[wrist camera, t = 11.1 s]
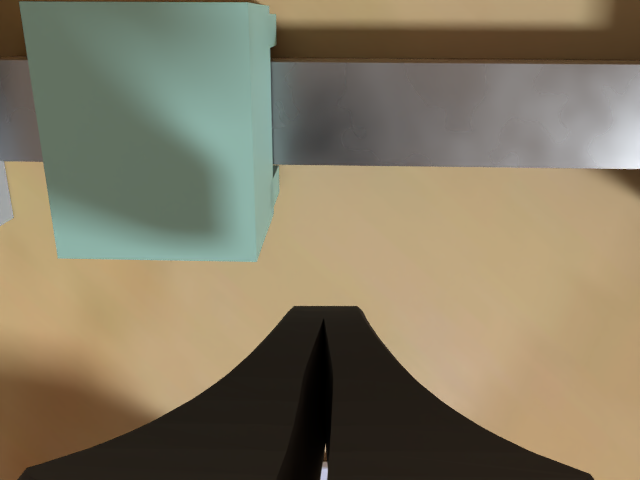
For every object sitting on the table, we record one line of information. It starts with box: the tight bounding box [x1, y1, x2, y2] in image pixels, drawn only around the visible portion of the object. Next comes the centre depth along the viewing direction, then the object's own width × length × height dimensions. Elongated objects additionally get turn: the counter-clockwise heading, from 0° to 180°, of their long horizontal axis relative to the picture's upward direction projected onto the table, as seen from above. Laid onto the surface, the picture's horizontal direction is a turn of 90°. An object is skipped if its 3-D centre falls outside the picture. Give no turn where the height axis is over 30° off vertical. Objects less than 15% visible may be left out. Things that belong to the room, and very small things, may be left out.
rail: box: [0, 56, 640, 169], centre depth 19 cm, size 3×22×2 cm, turn 90°
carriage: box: [19, 1, 279, 262], centre depth 17 cm, size 6×5×6 cm
